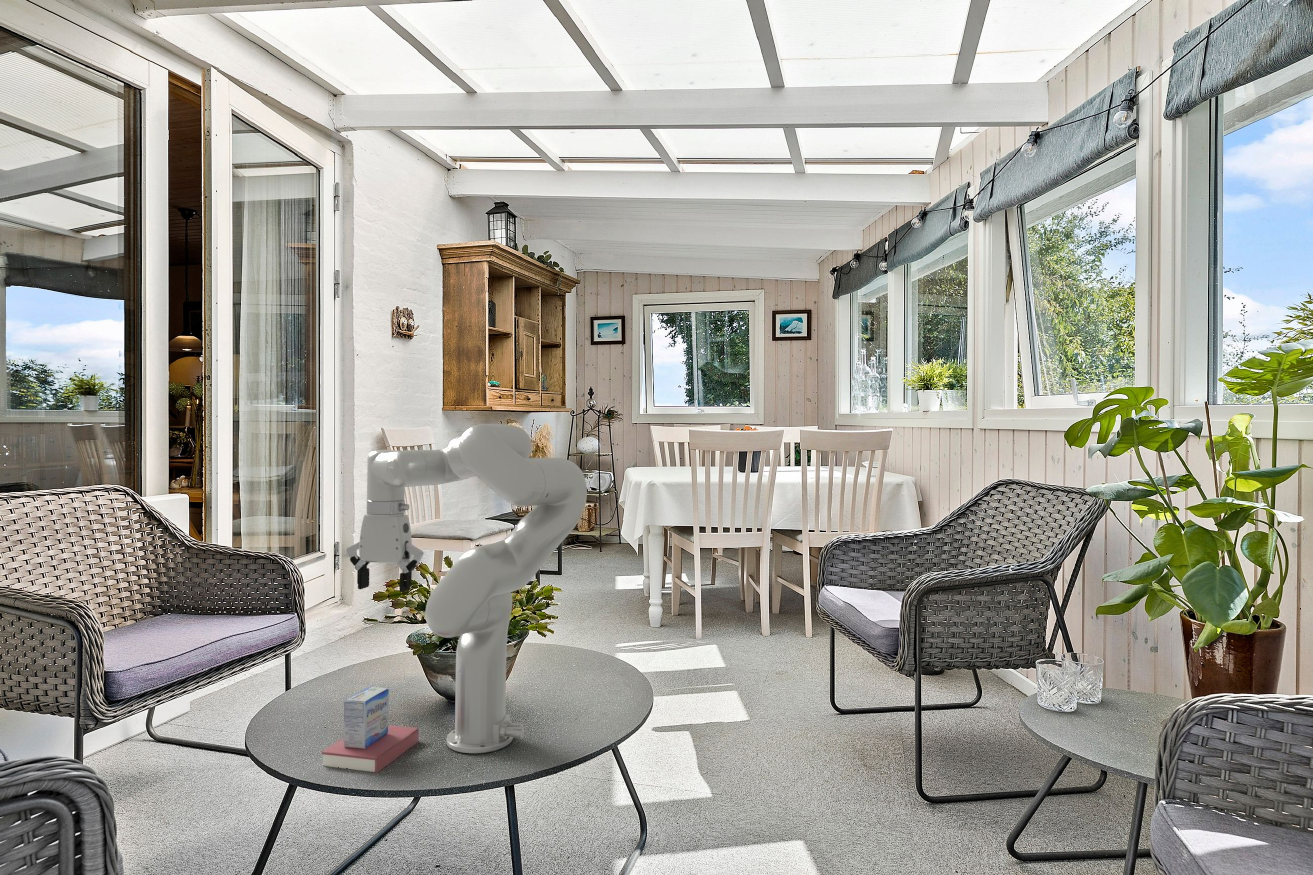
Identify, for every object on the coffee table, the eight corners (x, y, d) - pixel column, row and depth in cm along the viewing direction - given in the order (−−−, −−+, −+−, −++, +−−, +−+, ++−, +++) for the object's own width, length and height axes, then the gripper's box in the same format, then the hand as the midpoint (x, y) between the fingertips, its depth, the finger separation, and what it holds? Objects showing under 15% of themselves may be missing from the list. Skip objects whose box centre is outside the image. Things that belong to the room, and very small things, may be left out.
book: (418, 743, 145) (418, 728, 145) (376, 775, 132) (377, 758, 132) (367, 738, 148) (367, 722, 148) (321, 768, 134) (321, 751, 134)
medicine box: (364, 750, 135) (365, 702, 135) (342, 747, 136) (343, 699, 136) (388, 733, 143) (389, 687, 143) (367, 730, 144) (368, 685, 144)
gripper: (431, 508, 161) (430, 588, 161) (359, 505, 164) (357, 583, 165) (413, 512, 154) (412, 595, 154) (338, 508, 157) (336, 590, 157)
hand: (384, 589), depth 159 cm, fingers open, 9 cm apart
